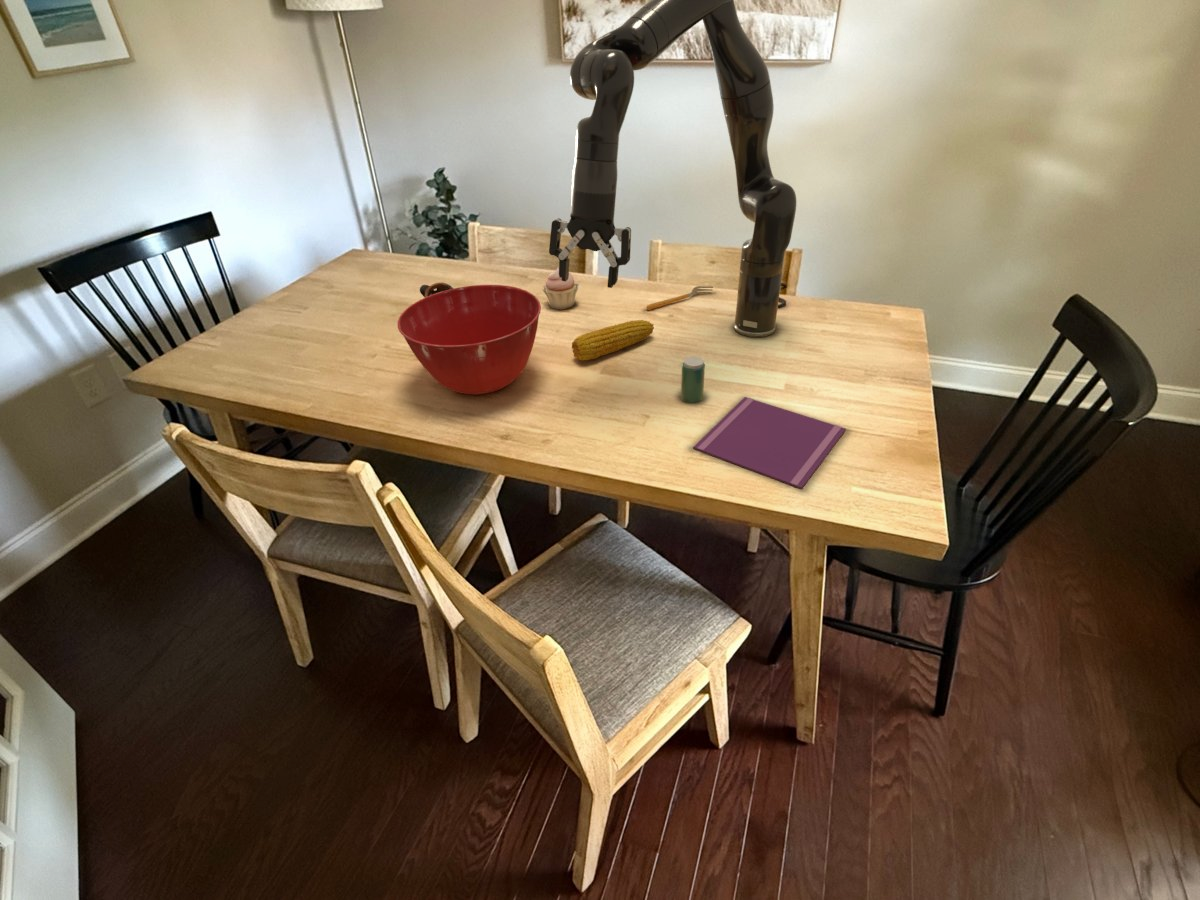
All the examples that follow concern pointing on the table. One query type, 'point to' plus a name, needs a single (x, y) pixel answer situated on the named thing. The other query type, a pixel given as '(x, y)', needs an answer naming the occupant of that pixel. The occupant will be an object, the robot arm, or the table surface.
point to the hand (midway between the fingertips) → (587, 283)
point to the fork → (679, 297)
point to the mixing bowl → (473, 335)
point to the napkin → (771, 441)
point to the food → (610, 339)
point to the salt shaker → (692, 379)
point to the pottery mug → (429, 290)
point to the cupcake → (560, 290)
